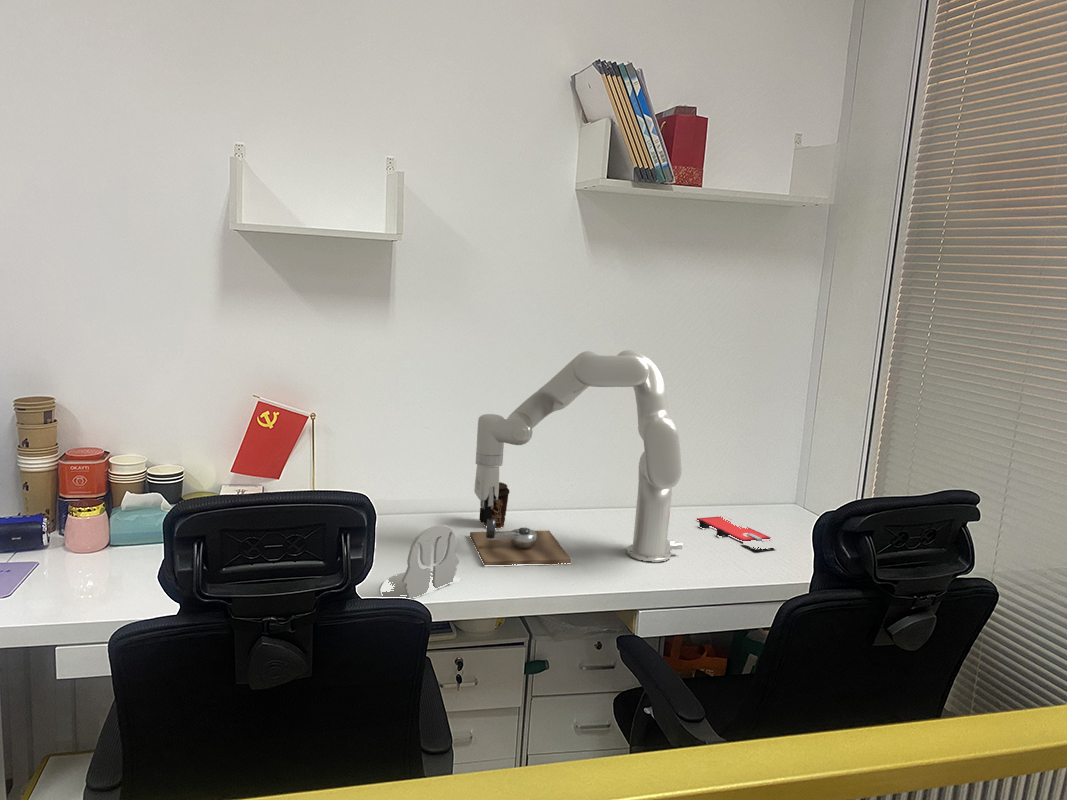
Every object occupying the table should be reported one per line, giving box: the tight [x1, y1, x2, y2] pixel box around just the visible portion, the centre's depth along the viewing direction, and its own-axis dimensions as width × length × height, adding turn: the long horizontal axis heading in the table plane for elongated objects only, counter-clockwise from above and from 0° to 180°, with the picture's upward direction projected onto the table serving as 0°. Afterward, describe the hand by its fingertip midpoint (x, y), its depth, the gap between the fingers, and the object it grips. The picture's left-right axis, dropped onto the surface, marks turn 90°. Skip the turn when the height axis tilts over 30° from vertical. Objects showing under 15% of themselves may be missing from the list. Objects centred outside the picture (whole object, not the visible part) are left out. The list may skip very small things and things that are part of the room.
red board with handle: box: [696, 515, 772, 551], centre depth 252 cm, size 30×3×15 cm
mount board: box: [469, 530, 572, 566], centre depth 225 cm, size 24×23×2 cm
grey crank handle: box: [485, 518, 537, 547], centre depth 222 cm, size 15×7×8 cm, turn 112°
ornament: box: [381, 524, 460, 600], centre depth 196 cm, size 22×13×17 cm, turn 142°
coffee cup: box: [482, 481, 511, 529], centre depth 243 cm, size 9×8×13 cm
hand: (485, 521), depth 226 cm, fingers closed
